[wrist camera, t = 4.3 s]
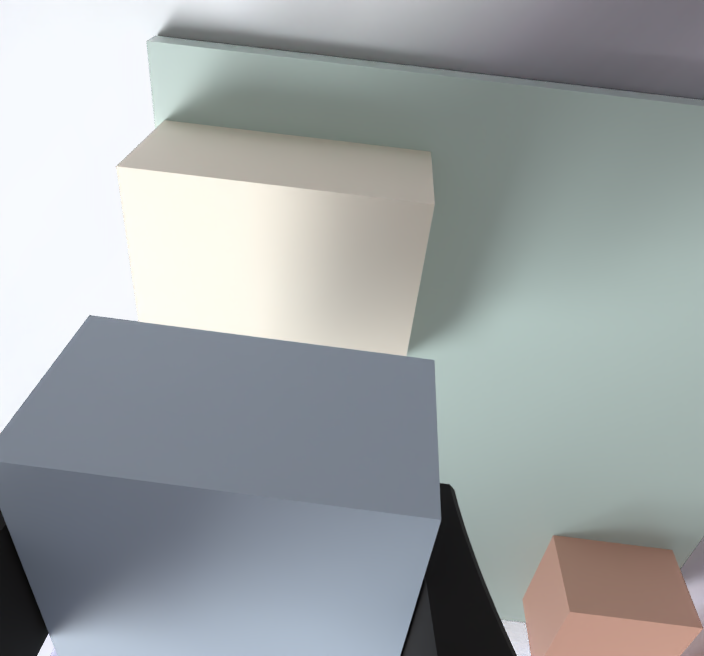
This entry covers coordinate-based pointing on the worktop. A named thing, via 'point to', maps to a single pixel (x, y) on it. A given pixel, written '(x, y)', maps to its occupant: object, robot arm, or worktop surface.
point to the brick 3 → (608, 601)
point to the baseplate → (522, 283)
